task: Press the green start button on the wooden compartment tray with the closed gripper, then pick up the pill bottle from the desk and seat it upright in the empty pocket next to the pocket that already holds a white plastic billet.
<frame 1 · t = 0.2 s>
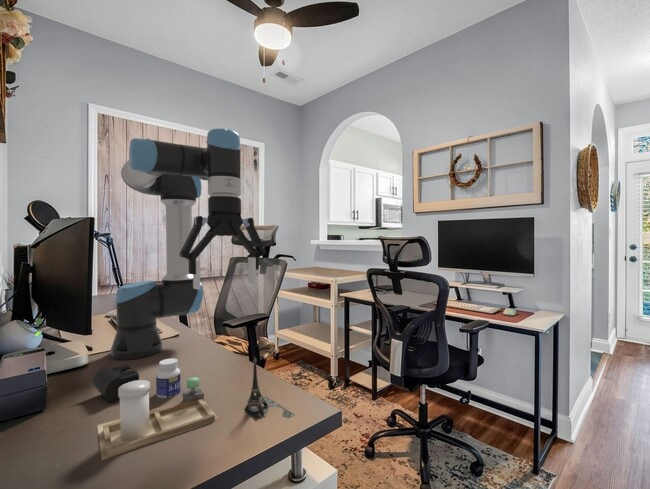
hand: (225, 286, 79), 27 cm above the table, fingers open, 13 cm apart
eiffel tower figurine: (257, 413, 74), on the table
start button: (193, 387, 76), point 4 cm above the table, slide at 0.0 cm
wooden compartment tray: (159, 428, 67), on the table
pill bottle: (168, 398, 80), on the table
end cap: (116, 398, 80), on the table
seated billet: (135, 433, 63), point 1 cm above the table, touching wooden compartment tray
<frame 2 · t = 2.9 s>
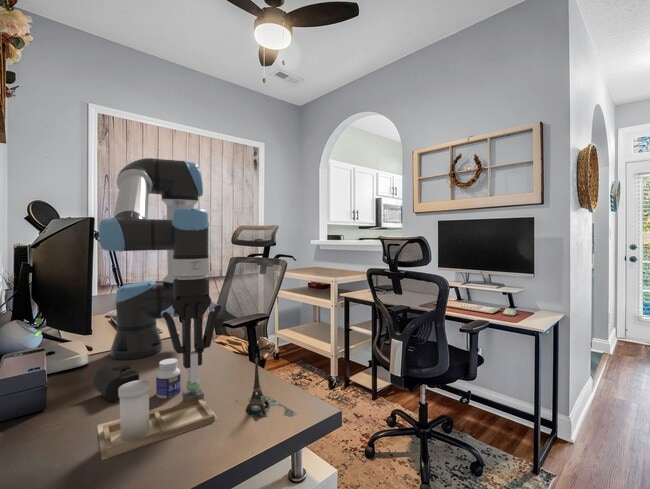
hand: (193, 380, 75), 6 cm above the table, fingers closed
start button: (193, 389, 76), point 4 cm above the table, slide at -0.5 cm, touching gripper
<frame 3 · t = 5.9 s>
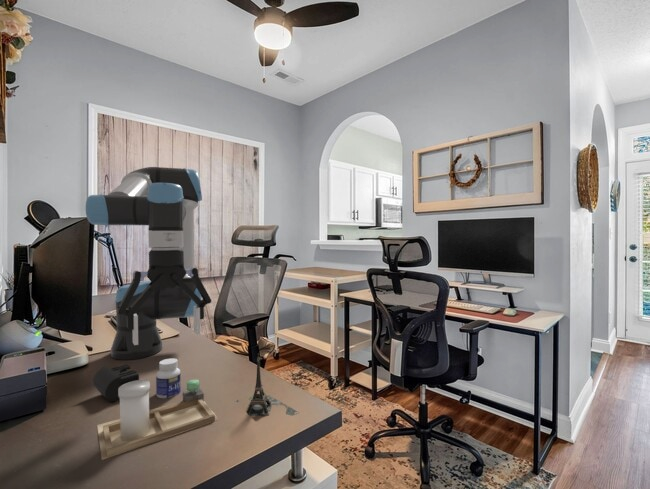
hand: (167, 338, 79), 14 cm above the table, fingers open, 13 cm apart
start button: (193, 389, 76), point 4 cm above the table, slide at -0.6 cm
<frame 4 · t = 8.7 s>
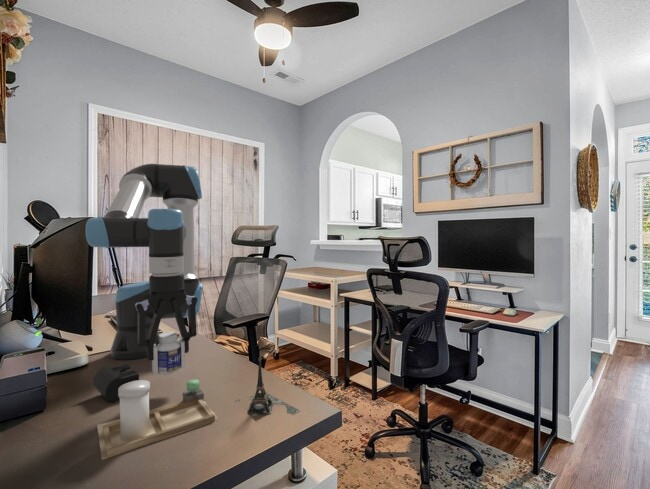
hand: (168, 369, 80), 7 cm above the table, fingers closed on pill bottle, 5 cm apart
pill bottle: (168, 371, 80), point 6 cm above the table, touching gripper
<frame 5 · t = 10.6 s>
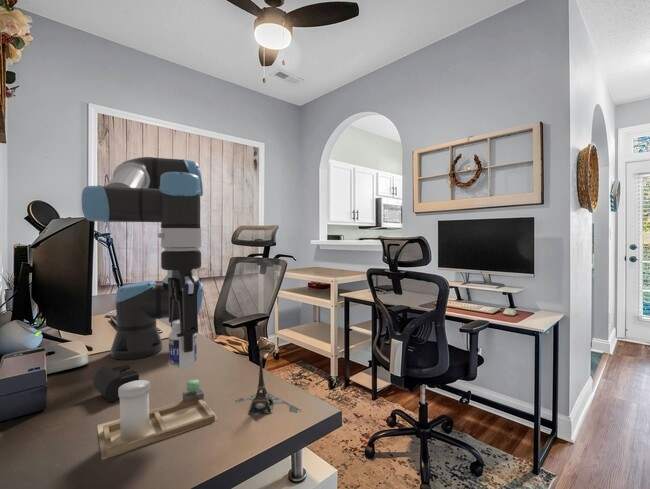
hand: (183, 362, 68), 13 cm above the table, fingers closed on pill bottle, 5 cm apart
pill bottle: (183, 364, 68), point 12 cm above the table, touching gripper
when the fingers open (3 cm above the table, at t = 12.6 s): pill bottle stays where it is, resting on wooden compartment tray.
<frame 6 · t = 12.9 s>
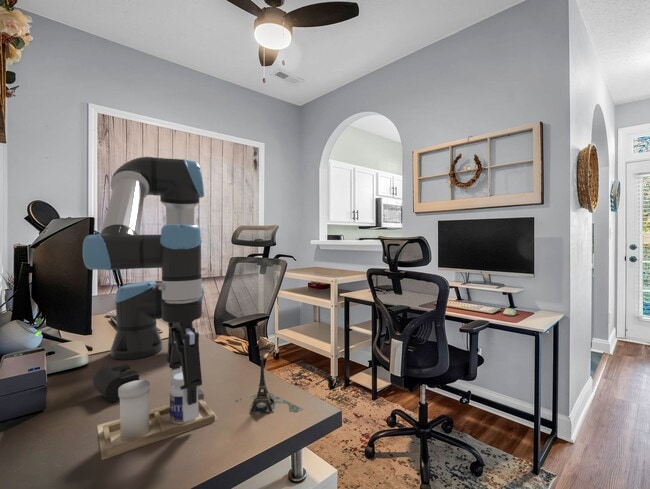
hand: (183, 407, 68), 3 cm above the table, fingers open, 9 cm apart
pill bottle: (183, 418, 69), point 1 cm above the table, touching wooden compartment tray
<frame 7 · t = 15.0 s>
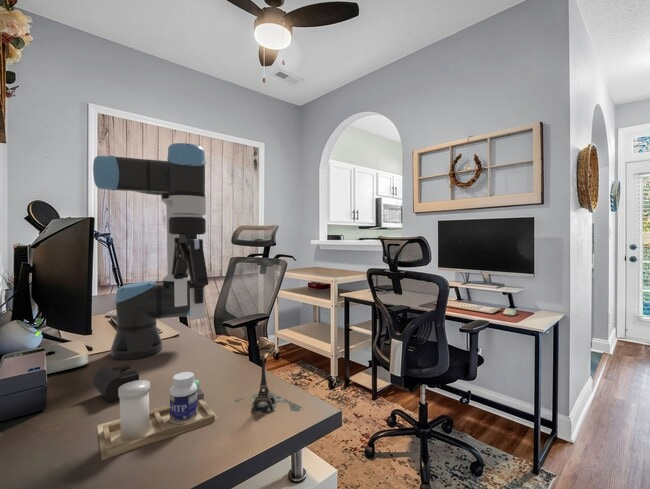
hand: (188, 311, 74), 22 cm above the table, fingers open, 13 cm apart
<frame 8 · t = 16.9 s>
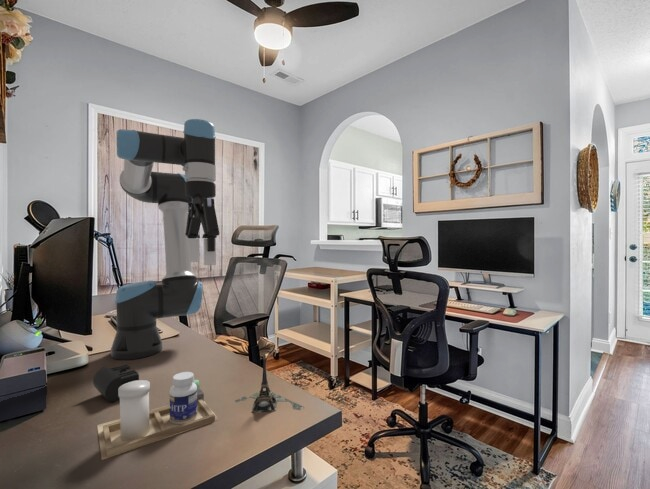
hand: (201, 263, 87), 32 cm above the table, fingers open, 13 cm apart
at the end: pill bottle inside the target area on the wooden compartment tray (0.1 cm from its centre), point 1.0 cm above the wooden compartment tray's base; pill bottle tilted 0°; seated billet moved 0.0 cm from its start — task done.
